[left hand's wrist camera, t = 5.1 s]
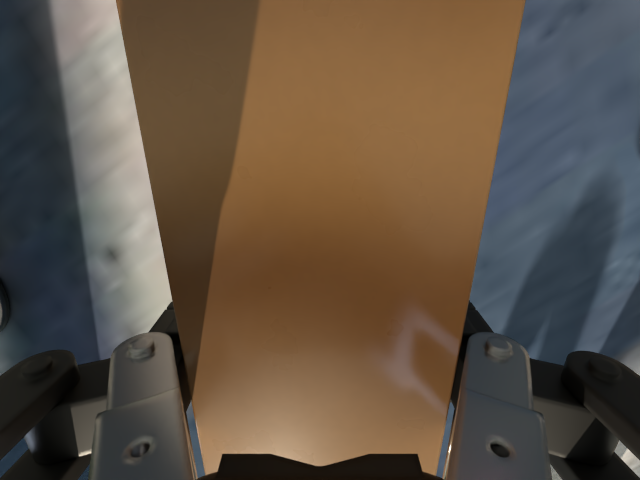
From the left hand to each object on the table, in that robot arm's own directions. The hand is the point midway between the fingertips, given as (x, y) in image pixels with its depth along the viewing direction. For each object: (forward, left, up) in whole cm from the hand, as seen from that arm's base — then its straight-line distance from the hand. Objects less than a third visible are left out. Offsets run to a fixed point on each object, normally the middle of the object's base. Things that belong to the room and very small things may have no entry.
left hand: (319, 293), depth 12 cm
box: (-4, +6, -6) cm, 10 cm away
